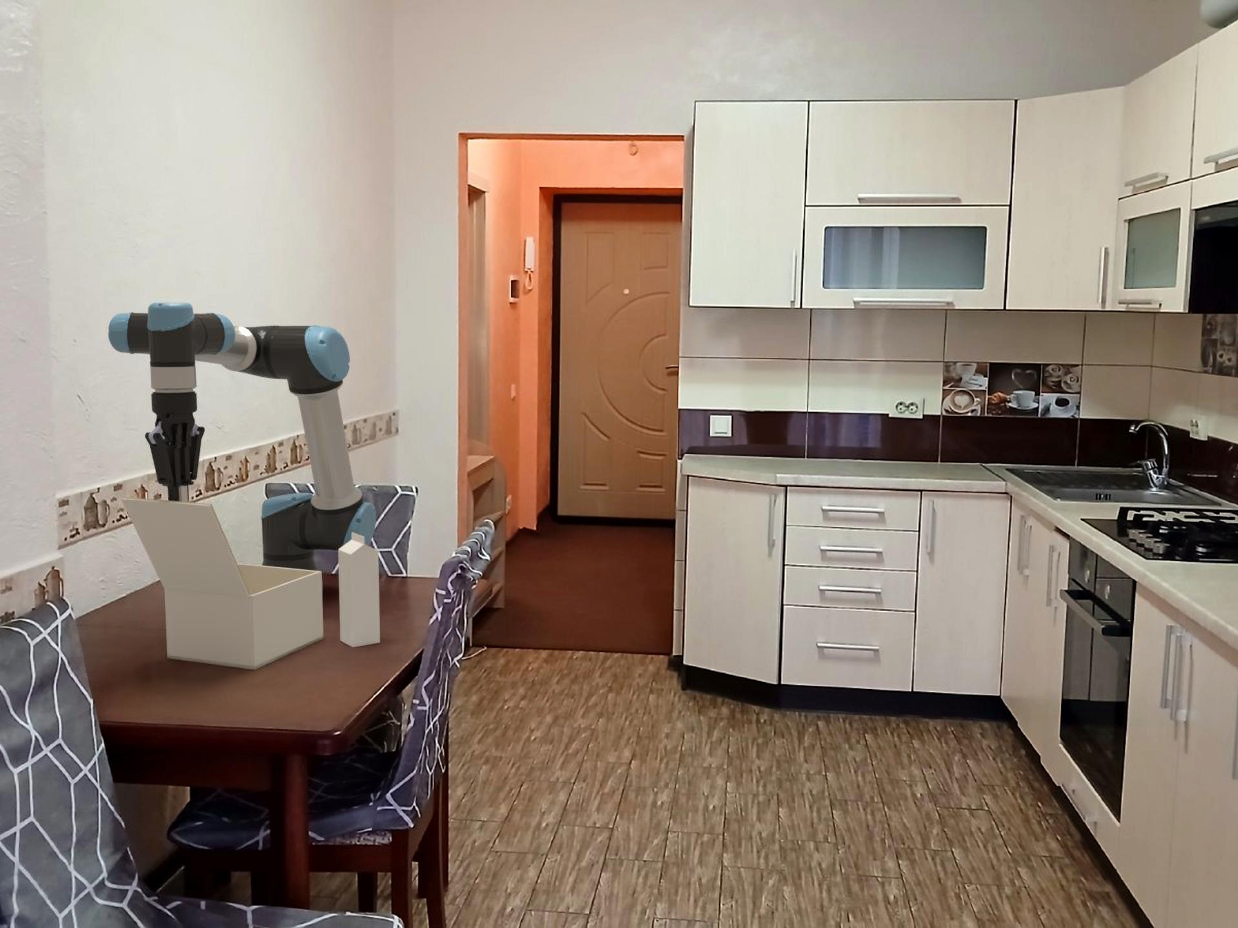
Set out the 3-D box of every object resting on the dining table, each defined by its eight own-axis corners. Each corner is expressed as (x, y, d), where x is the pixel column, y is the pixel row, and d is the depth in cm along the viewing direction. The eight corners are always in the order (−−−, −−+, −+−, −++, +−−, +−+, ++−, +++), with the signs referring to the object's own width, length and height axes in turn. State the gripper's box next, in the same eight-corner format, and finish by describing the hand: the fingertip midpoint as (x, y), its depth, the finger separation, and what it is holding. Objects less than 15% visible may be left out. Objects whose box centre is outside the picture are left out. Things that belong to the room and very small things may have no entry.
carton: (241, 628, 243) (238, 563, 241) (323, 638, 236) (321, 571, 234) (167, 658, 222) (164, 586, 221) (255, 669, 216) (252, 595, 214)
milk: (352, 647, 230) (349, 538, 227) (339, 640, 235) (336, 533, 232) (380, 642, 234) (378, 535, 231) (367, 635, 239) (365, 530, 236)
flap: (123, 497, 209) (121, 499, 208) (211, 503, 202) (209, 505, 202) (165, 585, 220) (163, 587, 220) (250, 594, 214) (248, 596, 213)
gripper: (181, 387, 213) (187, 514, 216) (130, 392, 201) (136, 526, 204) (215, 388, 211) (220, 517, 214) (165, 393, 198) (171, 529, 202)
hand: (179, 521), depth 209 cm, fingers closed
